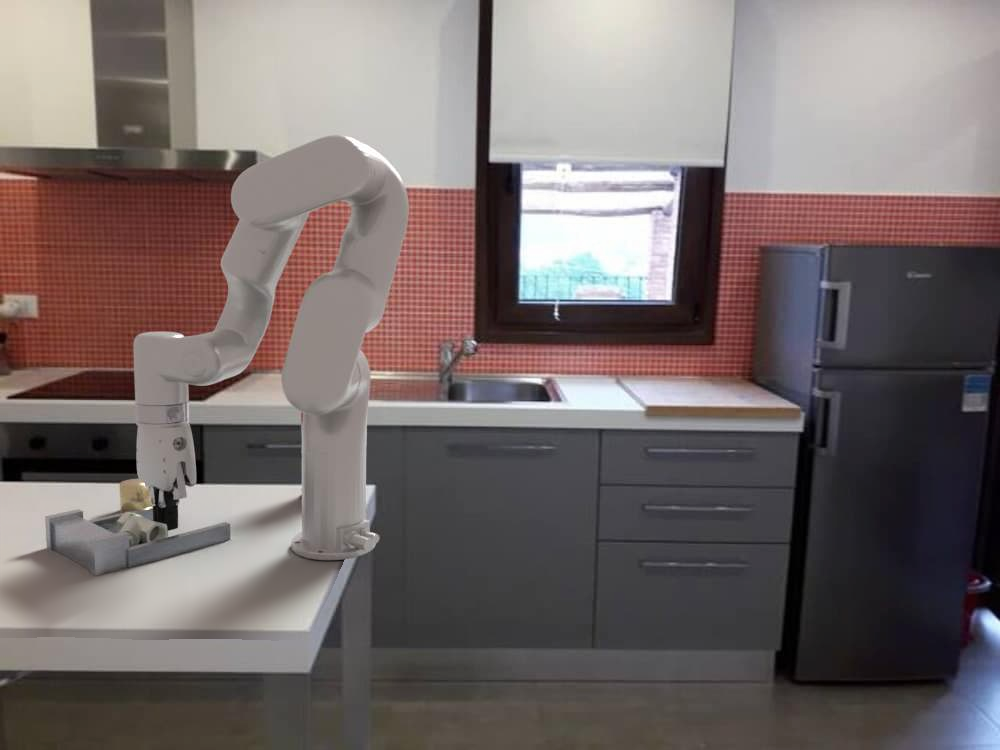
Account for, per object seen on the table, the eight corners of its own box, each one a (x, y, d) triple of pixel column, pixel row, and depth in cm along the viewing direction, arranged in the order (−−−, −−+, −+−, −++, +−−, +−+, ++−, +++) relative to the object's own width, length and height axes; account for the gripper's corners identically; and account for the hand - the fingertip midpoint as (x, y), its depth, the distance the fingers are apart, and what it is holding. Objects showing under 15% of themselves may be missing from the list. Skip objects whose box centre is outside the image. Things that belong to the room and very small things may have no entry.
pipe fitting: (127, 558, 119) (168, 542, 124) (124, 533, 118) (166, 518, 123) (97, 546, 123) (138, 531, 128) (94, 522, 122) (136, 508, 128)
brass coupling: (158, 511, 139) (157, 482, 138) (129, 517, 135) (128, 488, 134) (143, 504, 142) (142, 477, 141) (115, 511, 138) (113, 482, 137)
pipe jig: (230, 539, 126) (229, 509, 125) (97, 576, 110) (95, 542, 110) (174, 515, 136) (173, 488, 136) (45, 546, 121) (43, 515, 120)
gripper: (212, 417, 122) (214, 535, 125) (161, 403, 131) (164, 513, 134) (164, 424, 116) (167, 547, 119) (114, 409, 126) (118, 524, 128)
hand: (165, 529), depth 127 cm, fingers closed
